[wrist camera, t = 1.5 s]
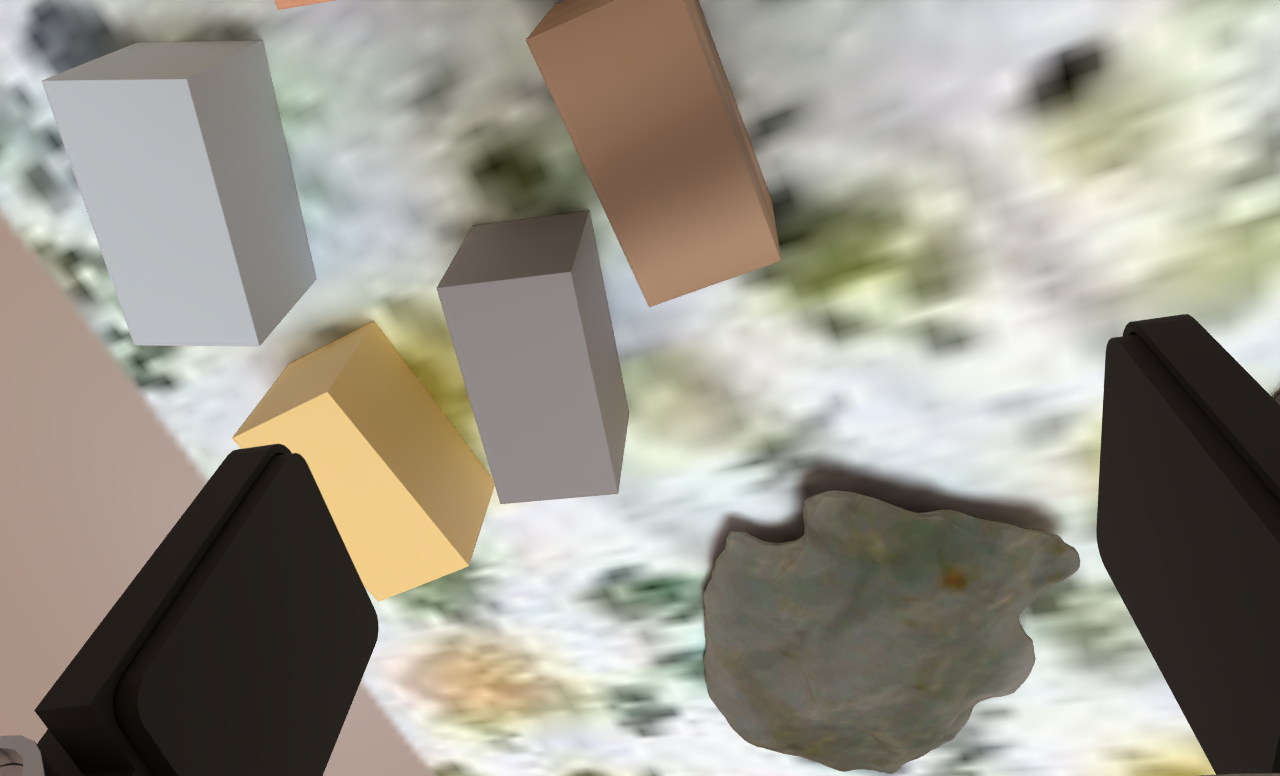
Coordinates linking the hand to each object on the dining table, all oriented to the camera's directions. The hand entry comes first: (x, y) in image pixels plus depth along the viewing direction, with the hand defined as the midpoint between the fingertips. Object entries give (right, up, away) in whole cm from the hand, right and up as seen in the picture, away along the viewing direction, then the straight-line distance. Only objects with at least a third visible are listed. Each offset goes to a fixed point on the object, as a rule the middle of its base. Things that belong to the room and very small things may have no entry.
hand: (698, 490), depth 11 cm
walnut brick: (0, +10, +18) cm, 21 cm away
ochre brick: (-10, 0, +25) cm, 27 cm away
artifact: (+8, -8, +29) cm, 31 cm away
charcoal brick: (-4, +4, +22) cm, 23 cm away
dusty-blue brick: (-14, +9, +20) cm, 26 cm away
